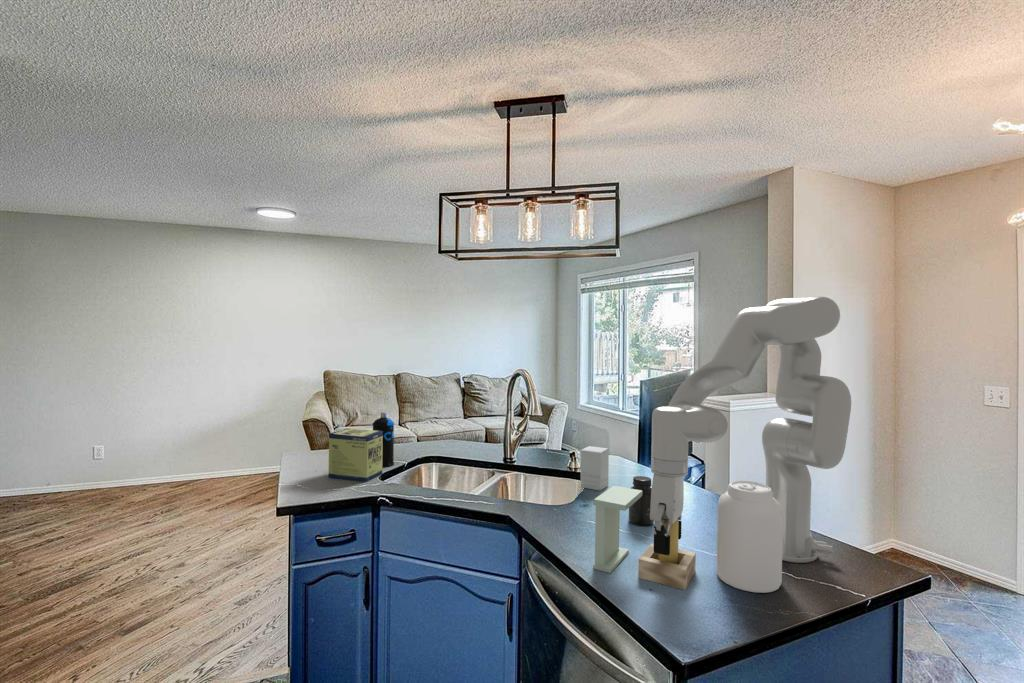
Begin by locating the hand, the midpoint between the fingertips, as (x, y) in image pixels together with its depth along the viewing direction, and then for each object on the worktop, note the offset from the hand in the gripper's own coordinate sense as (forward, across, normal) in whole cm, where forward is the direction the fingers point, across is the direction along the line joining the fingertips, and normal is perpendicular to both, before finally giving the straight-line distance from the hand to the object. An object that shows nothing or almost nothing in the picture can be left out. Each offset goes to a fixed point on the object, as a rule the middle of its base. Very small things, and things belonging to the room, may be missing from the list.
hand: (667, 545), depth 110 cm
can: (+6, -7, +15) cm, 18 cm away
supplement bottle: (+6, -27, -14) cm, 31 cm away
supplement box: (+7, -50, -37) cm, 63 cm away
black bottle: (+6, -31, -115) cm, 119 cm away
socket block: (+6, 0, 0) cm, 6 cm away
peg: (+6, 0, 0) cm, 6 cm away
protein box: (+7, -15, -112) cm, 113 cm away
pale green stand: (+6, 0, -11) cm, 13 cm away
